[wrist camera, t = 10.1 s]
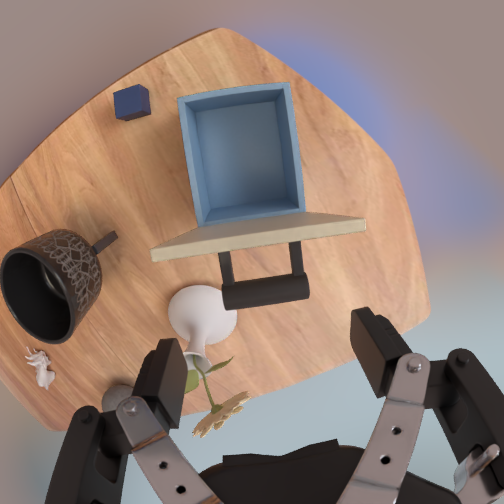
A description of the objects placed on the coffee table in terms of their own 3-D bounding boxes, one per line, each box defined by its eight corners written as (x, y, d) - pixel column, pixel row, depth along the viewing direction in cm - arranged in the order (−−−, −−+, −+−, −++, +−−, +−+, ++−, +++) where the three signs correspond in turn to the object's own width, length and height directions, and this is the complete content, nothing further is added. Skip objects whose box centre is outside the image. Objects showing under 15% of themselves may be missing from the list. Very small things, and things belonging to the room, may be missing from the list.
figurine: (36, 373, 50) (16, 351, 45) (54, 359, 55) (36, 336, 49) (47, 399, 45) (25, 377, 39) (68, 384, 50) (47, 361, 44)
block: (123, 97, 33) (113, 92, 30) (148, 89, 33) (139, 83, 29) (126, 121, 35) (115, 118, 31) (151, 114, 35) (142, 110, 31)
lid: (148, 249, 15) (167, 329, 16) (365, 217, 15) (370, 298, 16) (197, 227, 31) (204, 270, 32) (306, 211, 31) (311, 254, 32)
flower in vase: (190, 344, 48) (167, 464, 25) (158, 294, 44) (104, 411, 21) (256, 322, 47) (271, 449, 23) (228, 265, 43) (221, 389, 20)
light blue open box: (189, 109, 35) (176, 97, 27) (278, 96, 35) (289, 81, 26) (206, 213, 40) (198, 229, 32) (292, 201, 40) (306, 214, 32)
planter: (100, 196, 38) (29, 227, 22) (140, 265, 42) (94, 327, 26) (52, 235, 40) (-13, 275, 23) (89, 295, 44) (40, 354, 27)
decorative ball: (117, 368, 50) (102, 402, 41) (157, 391, 52) (148, 426, 43) (104, 389, 52) (91, 419, 43) (140, 409, 55) (131, 441, 45)
